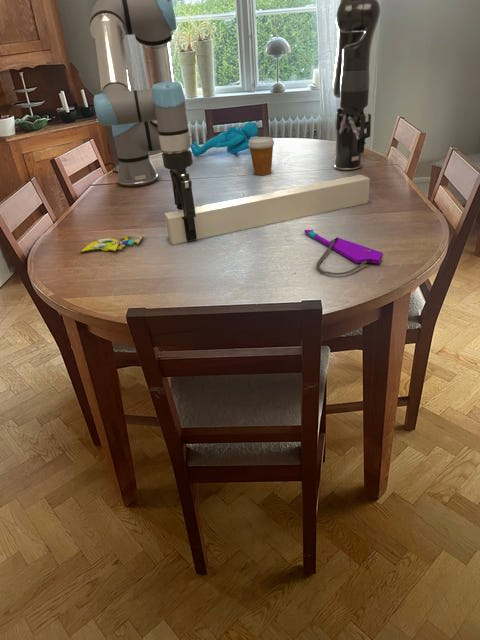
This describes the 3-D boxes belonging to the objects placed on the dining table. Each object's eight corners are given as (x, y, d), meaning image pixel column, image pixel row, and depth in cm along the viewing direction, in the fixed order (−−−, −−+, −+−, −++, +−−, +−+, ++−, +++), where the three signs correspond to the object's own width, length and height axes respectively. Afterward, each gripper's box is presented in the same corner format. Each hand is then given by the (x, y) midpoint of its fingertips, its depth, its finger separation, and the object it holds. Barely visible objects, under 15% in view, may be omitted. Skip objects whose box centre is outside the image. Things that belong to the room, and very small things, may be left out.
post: (172, 244, 131) (168, 218, 127) (168, 238, 135) (164, 213, 131) (368, 202, 146) (370, 178, 142) (359, 198, 150) (360, 174, 146)
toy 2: (196, 135, 215) (258, 116, 205) (204, 159, 220) (265, 140, 210) (184, 145, 202) (251, 124, 191) (193, 169, 207) (259, 151, 196)
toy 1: (132, 249, 128) (79, 250, 130) (133, 252, 128) (80, 253, 130) (143, 234, 136) (94, 235, 138) (144, 236, 137) (94, 237, 139)
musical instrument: (365, 286, 105) (394, 240, 117) (364, 278, 104) (394, 233, 116) (270, 272, 118) (305, 232, 130) (268, 265, 117) (304, 225, 129)
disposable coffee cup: (246, 176, 178) (244, 142, 172) (255, 168, 186) (253, 136, 179) (270, 177, 175) (269, 143, 168) (278, 169, 182) (277, 136, 176)
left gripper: (200, 155, 115) (211, 245, 127) (181, 140, 130) (192, 222, 142) (170, 160, 113) (184, 250, 125) (154, 145, 128) (168, 227, 140)
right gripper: (381, 88, 124) (377, 153, 133) (352, 83, 136) (350, 143, 144) (356, 92, 122) (353, 157, 131) (329, 87, 134) (327, 147, 143)
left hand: (188, 235), depth 134 cm, fingers open, 6 cm apart
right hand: (351, 149), depth 138 cm, fingers open, 8 cm apart
